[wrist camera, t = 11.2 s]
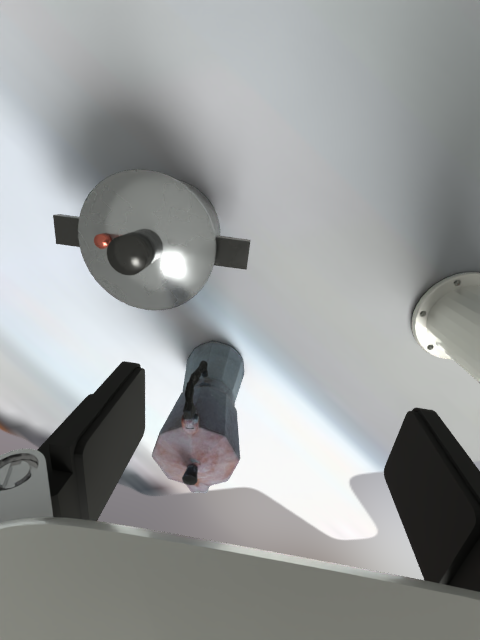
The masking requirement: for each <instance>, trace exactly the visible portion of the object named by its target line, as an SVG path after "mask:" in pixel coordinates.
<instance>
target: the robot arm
mask: <svg viewBox="0 0 480 640" xmlns="http://www.w3.org/2000/svg"><path fill="white" fill-rule="evenodd" d="M454 281H455V282H454ZM412 332H413V336H414V337H415V339H416V341H417V343H418V344H419V345H420V346H421V347H422V348H423V349H424V350H425V351H426V352H428V353H430V354H431V355H433V356H436V357H439V358H443V359H453V360H454V361H455V362H456V363H457V364H459V365H460V366H461V367H462V368H463V369H464V370H465V371H466V372H468V373H469V374H470V375H471V376H472V377H473V378H474V379H476V380H477V381H478V382H479V383H480V273H478V272H465V273H460V274H456V275H453V276H450V277H448V278H445V279H443V280H442V281H440V282H438V283H436V284H435V285H434V286H433V287H431V288H430V289H429V290H428V291H427V292H426V293H425V294H424V295H423V296H422V297H421V299H420V301H419V302H418V304H417V305H416V308H415V310H414V312H413V317H412ZM144 430H145V370H144V369H143V368H141V367H140V364H137V363H131V362H125V361H124V362H122V363H121V364H120V365H119V366H118V367H117V368H116V369H115V370H114V372H113V373H112V374H111V375H110V376H109V377H108V378H107V379H106V380H105V381H104V383H103V384H102V385H101V386H100V387H99V388H98V389H97V390H96V391H95V393H94V394H90V395H88V396H87V397H86V398H85V399H84V400H83V401H82V402H81V403H80V404H79V406H78V407H77V408H76V409H75V410H74V411H73V412H72V413H71V414H70V415H69V416H68V417H67V419H66V420H65V421H64V422H63V423H62V424H61V425H60V426H59V427H58V428H57V429H56V430H55V431H54V433H53V434H52V435H51V436H50V437H49V438H48V439H47V440H46V441H45V442H44V443H43V444H42V446H41V447H40V448H39V449H38V450H33V449H19V450H14V451H10V452H8V453H6V454H3V455H1V456H0V640H480V471H479V470H478V468H477V467H476V466H475V464H474V463H473V462H472V460H471V459H470V458H469V456H468V455H467V453H466V452H465V451H464V449H463V448H462V447H461V445H460V444H459V443H458V441H457V440H456V439H455V437H454V436H453V435H452V433H451V432H450V431H449V429H448V428H447V427H446V425H445V424H444V423H443V421H442V420H441V418H440V417H439V416H438V414H437V413H436V412H435V411H433V410H427V409H421V408H414V409H413V410H412V411H409V412H407V414H406V416H405V419H404V421H403V424H402V426H401V429H400V431H399V433H398V436H397V438H396V441H395V443H394V446H393V448H392V451H391V453H390V455H389V458H388V460H387V463H386V465H385V468H384V476H385V480H386V483H387V485H388V488H389V490H390V493H391V495H392V498H393V500H394V503H395V505H396V508H397V511H398V513H399V516H400V518H401V521H402V524H403V526H404V528H405V531H406V534H407V536H408V539H409V541H410V544H411V547H412V549H413V551H414V554H415V557H416V559H417V562H418V564H419V567H420V569H421V572H422V575H423V577H424V580H419V579H414V578H409V577H404V576H398V575H392V574H388V573H382V572H377V571H372V570H367V569H362V568H357V567H351V566H346V565H340V564H335V563H330V562H325V561H320V560H314V559H309V558H303V557H298V556H293V555H287V554H282V553H276V552H271V551H265V550H260V549H255V548H249V547H244V546H238V545H233V544H227V543H222V542H216V541H211V540H205V539H200V538H194V537H188V536H183V535H177V534H171V533H165V532H160V531H155V530H149V529H143V528H137V527H131V526H124V525H118V524H112V523H106V522H99V521H97V520H98V518H99V516H100V514H101V513H102V510H103V509H104V507H105V505H106V503H107V501H108V500H109V498H110V496H111V494H112V492H113V490H114V489H115V487H116V485H117V483H118V481H119V479H120V477H121V476H122V474H123V472H124V470H125V468H126V466H127V465H128V463H129V461H130V459H131V457H132V455H133V453H134V452H135V450H136V448H137V446H138V444H139V442H140V441H141V439H142V437H143V434H144Z"/></svg>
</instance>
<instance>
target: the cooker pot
mask: <svg viewBox="0 0 480 640" xmlns="http://www.w3.org/2000/svg"><path fill="white" fill-rule="evenodd" d="M178 181H180V180H178ZM180 182H181V183H183V184H184V185H186V186H187V187H188V188H189V189H190V190H191V191H192V192H194V193H195V195H196V196H197V197H198V198H199V199H200V200H201V202H202V203H203V205H204V206H205V208H206V210H207V212H208V214H209V216H210V218H211V220H212V223H213V226H214V230H215V235H216V244H217V245H216V258H215V263H214V265H217V266H224V267H232V268H239V269H247V262H248V254H249V247H250V240H247V239H239V238H232V237H224V236H220V225H219V221H218V217H217V214H216V212H215V210H214V208H213V206H212V205H211V203H210V202H209V200H208V199H207V198H206V197H205V195H204V194H202V193H201V192H200V191H199V190H198V189H196V188H195V187H193V186H192V185H190V184H188V183H186V182H183V181H180ZM53 218H54V227H55V236H56V244H62V245H70V246H77V247H80V245H79V238H78V224H79V217H77V216H69V215H62V214H58V215H53Z"/></svg>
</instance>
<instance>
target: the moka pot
mask: <svg viewBox="0 0 480 640" xmlns="http://www.w3.org/2000/svg"><path fill="white" fill-rule="evenodd" d="M243 376H244V363H243V359H242V357H241V356H240V354H239V353H238V352H237V351H236V350H234V349H233V348H232V347H230V346H229V345H226V344H222V343H219V342H214V341H212V342H208V343H204V344H202V345H200V346H198V347H196V348H195V349H194V350H193V352H192V354H191V355H190V357H189V359H188V360H187V366H186V373H185V379H184V386H183V393H181V395H180V397H179V399H178V400H177V402H176V404H175V406H174V408H173V409H172V411H171V413H170V415H169V417H168V418H167V420H166V422H165V424H164V425H163V427H162V429H161V431H160V433H159V436H158V439H157V441H156V444H155V447H154V450H153V453H152V457H153V459H154V460H155V461H156V463H157V464H158V465H159V466H160V468H161V469H162V471H163V472H164V473H165V475H166V476H167V477H168V478H169V479H172V480H175V481H178V482H181V483H184V484H186V485H187V486H188V488H189V489H190V491H191V492H193V493H194V492H195V493H200V492H203V493H207V492H208V488H209V486H210V485H214V484H218V483H222V482H226V481H228V479H229V478H230V476H231V475H232V473H233V471H234V469H235V467H236V466H237V464H238V462H239V460H240V451H239V436H238V423H237V411H236V409H235V407H234V405H235V400H236V397H237V394H238V391H239V388H240V385H241V382H242V379H243Z"/></svg>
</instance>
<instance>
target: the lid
mask: <svg viewBox="0 0 480 640" xmlns="http://www.w3.org/2000/svg"><path fill="white" fill-rule="evenodd" d="M78 238H79V245H80V249H81V253H82V256H83V258H84V261H85V263H86V265H87V267H88V269H89V271H90V272H91V274H92V275H93V277H94V278H95V280H96V281H97V282H98V283H99V284H100V285H101V286H102V287H103V288H104V289H105V290H106V291H107V292H108V293H109V294H111V295H112V296H113V297H115V298H116V299H118V300H120V301H121V302H124V303H126V304H128V305H130V306H133V307H136V308H140V309H145V310H165V309H170V308H173V307H177V306H179V305H181V304H183V303H185V302H187V301H188V300H190V299H191V298H193V297H194V296H195V295H196V294H197V293H198V292H199V291H200V290H201V289H202V287H203V286H204V284H205V283H206V281H207V280H208V278H209V276H210V274H211V272H212V269H213V266H214V263H215V258H216V245H217V244H216V235H215V230H214V226H213V223H212V220H211V218H210V216H209V214H208V212H207V210H206V208H205V206H204V205H203V203H202V202H201V200H200V199H199V198H198V197H197V196H196V195H195V193H194V192H192V191H191V190H190V189H189V188H188V187H187V186H186V185H184V184H183V183H181V182H180V181H178V180H176V179H175V178H173V177H171V176H168V175H166V174H163V173H160V172H155V171H150V170H140V169H135V170H126V171H122V172H118V173H116V174H113V175H111V176H109V177H107V178H106V179H104V180H102V181H101V182H100V183H99V184H98V185H97V186H95V188H94V189H93V190H92V191H91V192H90V194H89V195H88V197H87V198H86V200H85V202H84V205H83V207H82V209H81V213H80V217H79V224H78Z"/></svg>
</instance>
